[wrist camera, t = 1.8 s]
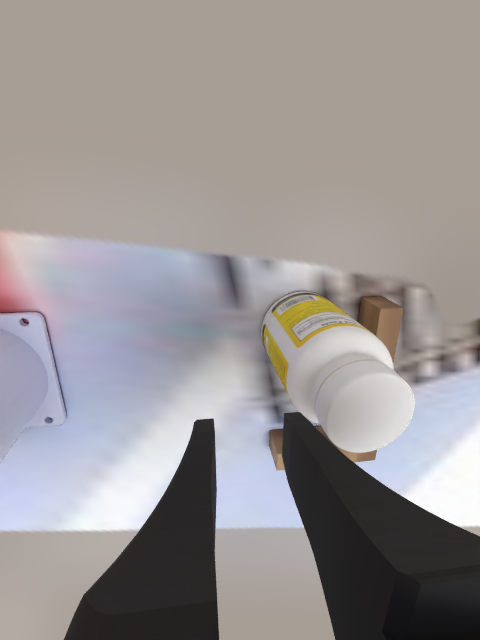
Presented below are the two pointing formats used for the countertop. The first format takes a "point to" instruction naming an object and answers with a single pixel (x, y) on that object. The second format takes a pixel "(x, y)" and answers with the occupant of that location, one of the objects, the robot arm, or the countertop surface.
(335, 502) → the robot arm
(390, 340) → the wooden l-shaped block
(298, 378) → the supplement bottle
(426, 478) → the countertop surface
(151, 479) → the countertop surface
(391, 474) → the countertop surface
